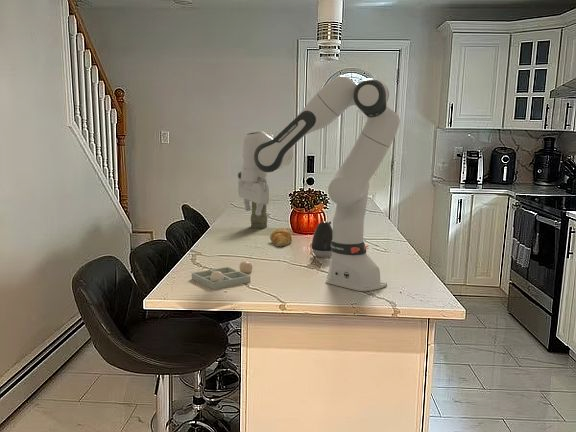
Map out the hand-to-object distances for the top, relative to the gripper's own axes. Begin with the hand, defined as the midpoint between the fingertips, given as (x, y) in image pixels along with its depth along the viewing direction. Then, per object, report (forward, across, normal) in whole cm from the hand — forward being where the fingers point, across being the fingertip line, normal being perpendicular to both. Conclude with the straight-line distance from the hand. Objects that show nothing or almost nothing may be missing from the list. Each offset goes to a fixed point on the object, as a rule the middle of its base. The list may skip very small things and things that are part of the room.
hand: (252, 212), depth 206 cm
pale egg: (+22, -14, +19) cm, 32 cm away
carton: (+23, -9, +16) cm, 29 cm away
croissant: (+23, +40, -33) cm, 57 cm away
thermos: (+24, +80, -40) cm, 93 cm away
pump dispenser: (+22, +9, -38) cm, 44 cm away
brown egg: (+23, -2, +3) cm, 23 cm away
